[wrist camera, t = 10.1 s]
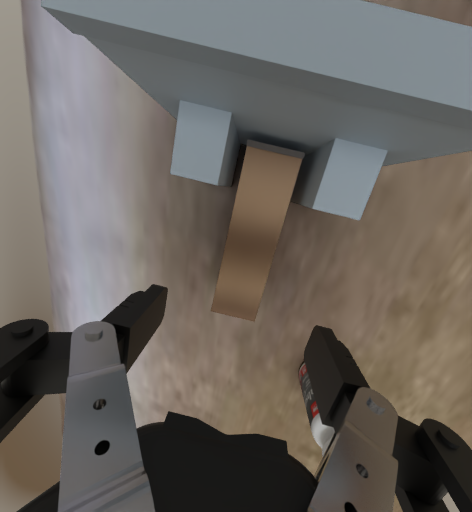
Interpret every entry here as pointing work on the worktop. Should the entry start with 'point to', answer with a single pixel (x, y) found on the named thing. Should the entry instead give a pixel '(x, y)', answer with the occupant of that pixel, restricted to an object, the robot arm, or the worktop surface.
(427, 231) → the worktop surface
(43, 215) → the worktop surface
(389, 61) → the grey two-legged bench
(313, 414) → the pill bottle
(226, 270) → the bed rail
